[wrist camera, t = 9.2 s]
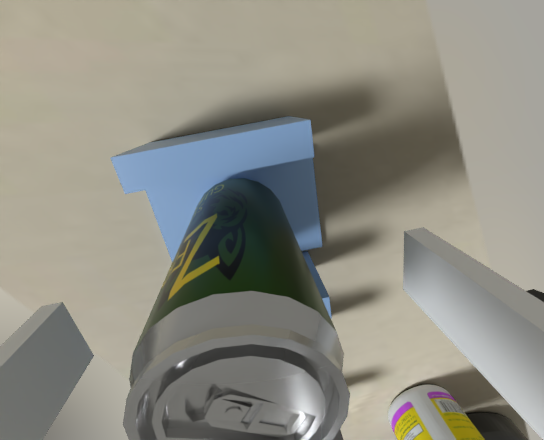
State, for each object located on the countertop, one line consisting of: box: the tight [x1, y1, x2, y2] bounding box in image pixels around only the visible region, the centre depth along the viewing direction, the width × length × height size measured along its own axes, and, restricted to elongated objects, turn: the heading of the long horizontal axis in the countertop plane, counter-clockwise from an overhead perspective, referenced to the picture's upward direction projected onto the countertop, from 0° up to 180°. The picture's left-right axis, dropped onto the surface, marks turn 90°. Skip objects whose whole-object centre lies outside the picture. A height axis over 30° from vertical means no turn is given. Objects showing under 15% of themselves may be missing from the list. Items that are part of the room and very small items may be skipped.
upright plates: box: [111, 116, 343, 440], centre depth 18 cm, size 24×8×5 cm, turn 10°
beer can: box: [123, 178, 350, 440], centre depth 11 cm, size 5×5×12 cm
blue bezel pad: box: [146, 157, 322, 262], centre depth 17 cm, size 7×10×1 cm
